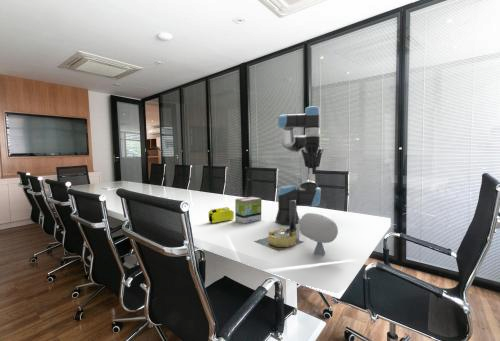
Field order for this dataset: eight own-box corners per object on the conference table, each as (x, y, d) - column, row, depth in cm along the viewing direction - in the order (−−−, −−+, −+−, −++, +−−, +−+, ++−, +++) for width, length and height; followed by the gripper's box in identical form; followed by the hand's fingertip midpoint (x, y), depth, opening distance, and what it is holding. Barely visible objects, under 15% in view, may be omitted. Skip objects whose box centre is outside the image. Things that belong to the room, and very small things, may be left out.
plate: (253, 243, 125) (253, 231, 125) (279, 235, 137) (279, 224, 136) (278, 253, 112) (278, 240, 112) (304, 243, 124) (304, 231, 123)
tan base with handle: (282, 248, 114) (282, 206, 113) (263, 241, 123) (263, 202, 122) (305, 240, 124) (305, 201, 123) (285, 234, 134) (285, 198, 133)
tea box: (244, 224, 160) (244, 200, 159) (235, 221, 168) (234, 198, 167) (262, 219, 170) (261, 197, 169) (252, 217, 178) (251, 196, 177)
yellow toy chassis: (229, 218, 175) (229, 206, 174) (233, 220, 170) (233, 207, 170) (208, 222, 165) (208, 209, 165) (212, 224, 161) (212, 211, 160)
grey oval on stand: (327, 244, 122) (327, 208, 120) (341, 262, 102) (341, 219, 101) (295, 245, 122) (295, 209, 121) (303, 262, 102) (303, 220, 101)
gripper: (298, 136, 139) (298, 179, 140) (318, 135, 129) (318, 181, 130) (306, 137, 143) (306, 178, 145) (326, 135, 133) (326, 180, 135)
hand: (312, 180), depth 137 cm, fingers closed
